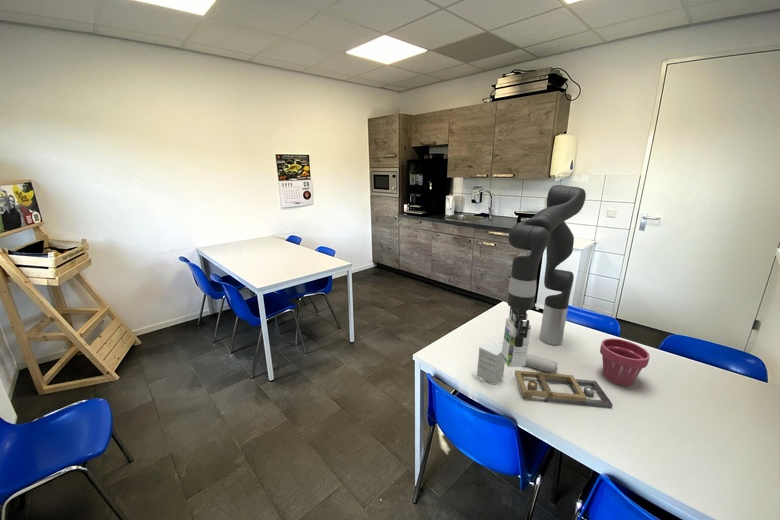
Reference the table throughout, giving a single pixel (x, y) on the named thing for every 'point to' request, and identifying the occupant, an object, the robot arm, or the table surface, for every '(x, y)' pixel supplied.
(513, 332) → the syrup box
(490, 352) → the supplement box
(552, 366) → the tube
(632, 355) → the plant pot
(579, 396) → the tan wooden frame
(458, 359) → the table surface
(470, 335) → the table surface
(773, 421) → the table surface
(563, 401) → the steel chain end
